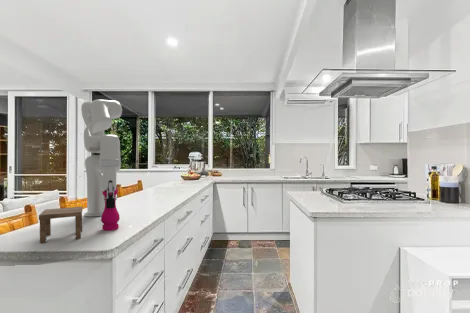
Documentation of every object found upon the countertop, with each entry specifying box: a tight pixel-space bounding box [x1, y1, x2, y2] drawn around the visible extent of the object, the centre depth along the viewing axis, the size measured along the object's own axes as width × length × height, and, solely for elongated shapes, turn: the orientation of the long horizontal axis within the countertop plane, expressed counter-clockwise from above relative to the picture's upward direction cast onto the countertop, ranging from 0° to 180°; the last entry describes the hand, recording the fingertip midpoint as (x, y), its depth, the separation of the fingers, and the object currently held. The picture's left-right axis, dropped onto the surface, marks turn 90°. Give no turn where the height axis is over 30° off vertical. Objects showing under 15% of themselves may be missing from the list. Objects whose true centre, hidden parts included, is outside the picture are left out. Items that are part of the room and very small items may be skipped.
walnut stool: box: [38, 206, 83, 244], centre depth 108 cm, size 13×13×10 cm
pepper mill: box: [100, 187, 120, 232], centre depth 119 cm, size 7×7×20 cm
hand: (110, 206), depth 119 cm, fingers closed on pepper mill, 5 cm apart
